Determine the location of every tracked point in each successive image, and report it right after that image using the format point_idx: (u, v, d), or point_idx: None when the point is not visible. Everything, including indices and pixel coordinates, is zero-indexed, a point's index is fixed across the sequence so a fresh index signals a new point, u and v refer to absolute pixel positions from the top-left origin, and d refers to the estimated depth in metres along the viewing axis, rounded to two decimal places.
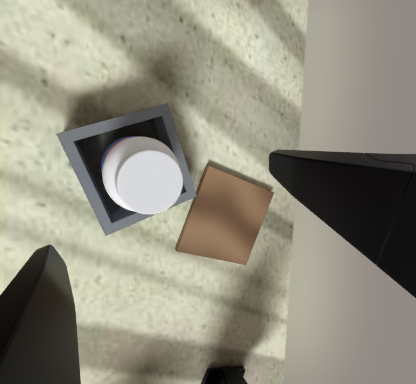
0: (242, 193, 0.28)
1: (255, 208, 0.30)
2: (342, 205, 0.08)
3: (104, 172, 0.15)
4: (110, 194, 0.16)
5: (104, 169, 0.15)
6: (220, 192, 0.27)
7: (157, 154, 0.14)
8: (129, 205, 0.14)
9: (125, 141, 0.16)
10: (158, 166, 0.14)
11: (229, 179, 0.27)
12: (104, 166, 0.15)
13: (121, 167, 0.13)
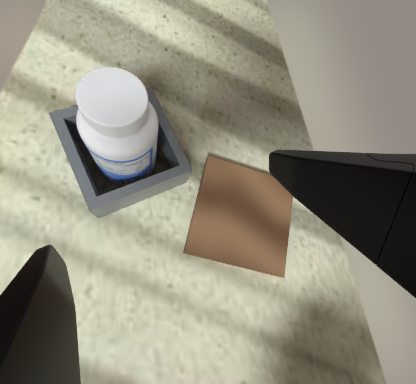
0: (254, 184, 0.25)
1: (276, 201, 0.25)
2: (342, 205, 0.08)
3: (77, 114, 0.16)
4: (81, 134, 0.15)
5: (77, 112, 0.16)
6: (227, 182, 0.24)
7: (118, 70, 0.14)
8: (87, 114, 0.13)
9: None
10: (119, 81, 0.14)
11: (235, 168, 0.25)
12: (78, 110, 0.16)
13: None
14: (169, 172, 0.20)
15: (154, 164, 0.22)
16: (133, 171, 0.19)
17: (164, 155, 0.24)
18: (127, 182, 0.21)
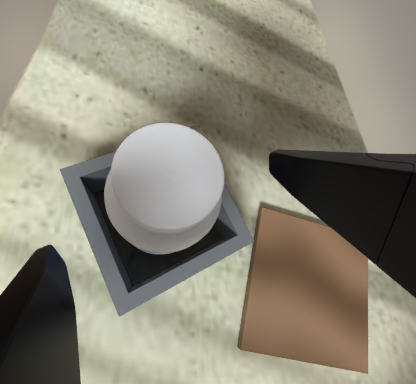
0: (320, 243, 0.19)
1: (348, 264, 0.19)
2: (342, 205, 0.08)
3: (105, 188, 0.10)
4: (114, 221, 0.10)
5: (106, 184, 0.10)
6: (287, 243, 0.19)
7: (175, 128, 0.09)
8: (133, 211, 0.08)
9: None
10: (179, 146, 0.09)
11: (295, 223, 0.19)
12: (106, 180, 0.10)
13: (118, 148, 0.08)
14: (225, 247, 0.14)
15: None
16: None
17: None
18: None
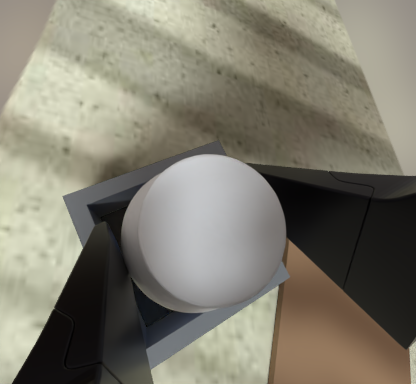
0: None
1: None
2: (306, 226, 0.08)
3: (123, 231, 0.08)
4: (134, 276, 0.08)
5: (123, 226, 0.08)
6: (319, 271, 0.16)
7: (221, 161, 0.07)
8: (170, 286, 0.05)
9: None
10: (227, 186, 0.06)
11: None
12: (123, 221, 0.08)
13: (147, 193, 0.06)
14: None
15: None
16: None
17: None
18: None
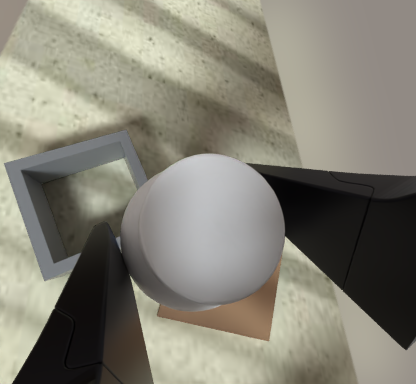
0: None
1: None
2: (306, 226, 0.08)
3: (122, 231, 0.08)
4: (134, 275, 0.08)
5: (122, 225, 0.08)
6: None
7: (221, 161, 0.07)
8: (172, 283, 0.05)
9: (159, 173, 0.09)
10: (227, 185, 0.07)
11: None
12: (123, 220, 0.08)
13: (148, 191, 0.06)
14: None
15: None
16: None
17: None
18: None
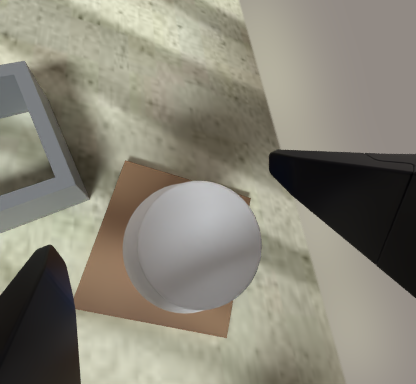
0: None
1: None
2: (342, 205, 0.08)
3: (124, 243, 0.09)
4: (134, 282, 0.09)
5: (125, 238, 0.09)
6: None
7: (207, 187, 0.08)
8: (163, 292, 0.07)
9: (157, 191, 0.10)
10: (212, 208, 0.08)
11: (164, 179, 0.18)
12: (125, 233, 0.09)
13: (145, 215, 0.07)
14: (35, 189, 0.13)
15: None
16: None
17: None
18: None
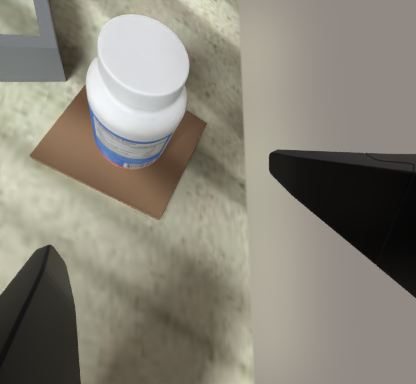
0: None
1: (177, 135, 0.21)
2: (342, 205, 0.08)
3: (89, 68, 0.12)
4: (91, 94, 0.12)
5: (90, 65, 0.12)
6: None
7: (158, 25, 0.11)
8: (110, 68, 0.10)
9: None
10: (158, 38, 0.11)
11: None
12: (91, 63, 0.12)
13: (108, 21, 0.10)
14: (21, 39, 0.15)
15: (162, 152, 0.19)
16: (139, 156, 0.15)
17: None
18: (127, 166, 0.18)
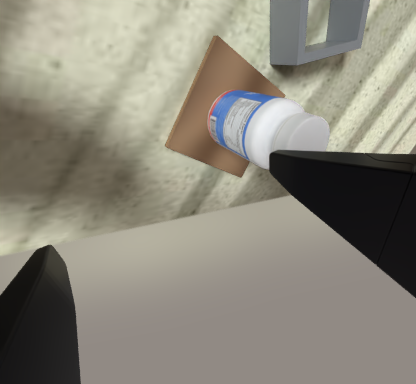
0: None
1: (232, 155, 0.25)
2: (342, 205, 0.08)
3: (294, 101, 0.17)
4: (279, 104, 0.16)
5: (295, 102, 0.17)
6: None
7: None
8: (302, 125, 0.15)
9: None
10: None
11: None
12: (296, 102, 0.17)
13: (326, 121, 0.16)
14: (303, 38, 0.20)
15: None
16: (226, 133, 0.19)
17: None
18: (211, 118, 0.21)
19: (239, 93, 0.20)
